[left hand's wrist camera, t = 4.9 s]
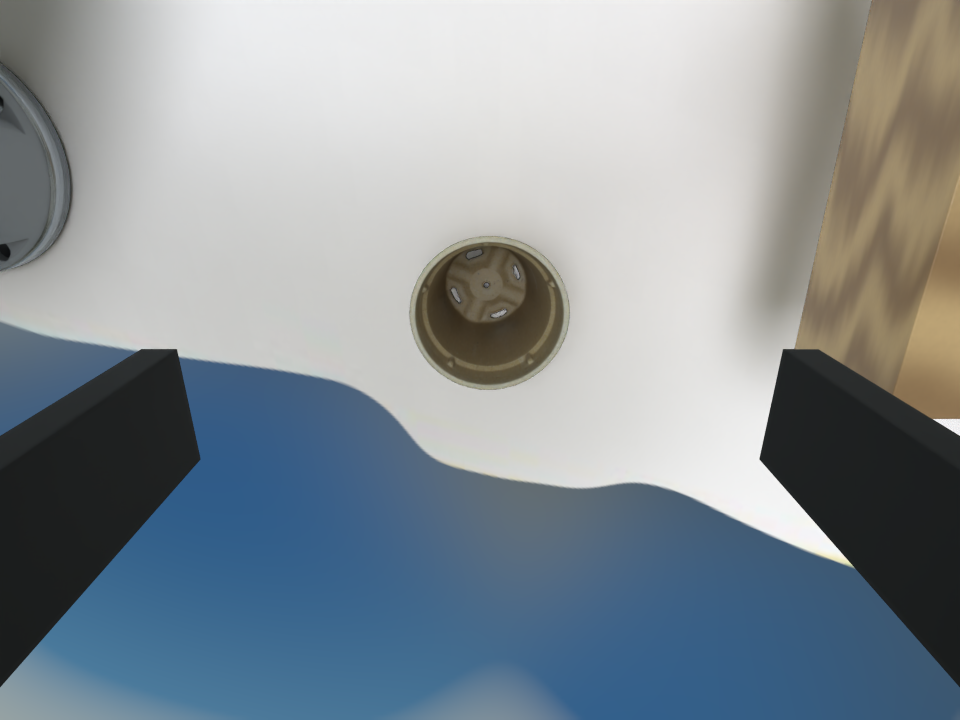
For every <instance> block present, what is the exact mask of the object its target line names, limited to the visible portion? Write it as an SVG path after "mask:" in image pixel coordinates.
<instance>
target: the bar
mask: <svg viewBox="0 0 960 720" xmlns="http://www.w3.org/2000/svg"><path fill="white" fill-rule="evenodd" d="M795 349H819V350H821V351H822V352H824V353H825V354H827V355H829V356H830V357H832V358H834V359H835V360H837V361H838V362H840V363H842V364H843V365H845V366H847V367H848V368H850V369H852V370H853V371H855V372H856V373H858V374H860V375H861V376H863V377H865V378H866V379H868V380H869V381H871V382H873V383H874V384H876V385H878V386H879V387H881V388H882V389H884V390H886V391H887V392H889V393H891V394H892V395H894V396H895V397H897V398H899V399H900V400H902V401H904V402H905V403H907V404H908V405H910V406H912V407H913V408H915V409H917V410H918V411H920V412H921V413H923V414H925V415H926V416H928V417H930V418H931V419H960V0H872V3H871V7H870V12H869V16H868V21H867V25H866V30H865V34H864V39H863V43H862V48H861V52H860V57H859V61H858V66H857V70H856V75H855V79H854V84H853V88H852V93H851V97H850V102H849V106H848V111H847V115H846V120H845V124H844V129H843V133H842V138H841V142H840V147H839V151H838V156H837V160H836V165H835V169H834V174H833V178H832V183H831V187H830V192H829V196H828V201H827V205H826V210H825V214H824V219H823V223H822V228H821V232H820V237H819V241H818V246H817V250H816V255H815V259H814V264H813V268H812V273H811V277H810V282H809V286H808V291H807V295H806V300H805V304H804V309H803V313H802V318H801V322H800V327H799V331H798V336H797V340H796V345H795Z"/></svg>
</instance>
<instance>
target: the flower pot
mask: <svg viewBox="0 0 960 720" xmlns="http://www.w3.org/2000/svg"><path fill="white" fill-rule="evenodd" d="M478 249H481V250H482V255H480V256H477V257H474V258H471V259H470V260H468V259H467V257H466V254H467V253H468V252H470V251H474V250H478ZM514 265H516V267H517V269H518V272H519V274H520V278H519V279H517V277H516V275H515V274H513V273H514V270H513V266H514ZM486 282H488V283H489V287H488V288H485V287H484V283H486ZM452 288H456V289H457V292H458V296H459V298H460V299H461V303H458V301H456V300H455V298H454V296H453V294H452V292H451V289H452ZM504 309H506V310H507V312H506V313H505V314H504V315H503V316H500V317H498V318H492V317H491V314H494V313H497V312H499V311H502V310H504ZM409 313H410V324H411V328H412V333H413V336H414V339H415V341H416V344H417V346H418V348H419V350H420V351H421V353H422V355H423V356H424V358H425V359H426V360H427V362H428V363H429V364H430V365H431V366H432V367H433V368H434V369H435V370H437V371H438V372H439V373H440V374H441V375H443V376H445V377H446V378H448V379H450V380H451V381H453V382H455V383H458V384H460V385H463V386H466V387H470V388H476V389H480V390H482V389H483V390H496V389H501V388H502V389H503V388H507V387H511V386H514V385H517V384H519V383H522V382H524V381H526V380H528V379H530V378H531V377H533V376H535V375H536V374H537V373H539V372H540V371H541V370H543V369H544V368H545V367H546V366H547V365H548V364H549V363H550V361H551V360H552V359H553V358H554V357H555V356H556V354H557V352H558V351H559V349H560V347H561V345H562V343H563V341H564V339H565V336H566V333H567V330H568V324H569V313H570V312H569V301H568V295H567V292H566V289H565V286H564V284H563V282H562V280H561V278H560V276H559V274H558V272H557V271H556V269H555V268H554V267H553V265H552V264H551V263H550V262H549V261H548V260H547V259H546V258H545V257H544V256H543V255H542V254H540V253H539V252H538V251H537V250H535V249H533V248H532V247H530V246H528V245H526V244H524V243H522V242H520V241H517V240H513V239H510V238H505V237H496V236H482V237H475V238H470V239H466V240H463V241H460V242H458V243H456V244H453V245H451V246H450V247H448V248H446V249H445V250H443V251H442V252H441V253H439V254H438V255H437V256H436V257H435V258H434V259H433V260H431V261H430V262H429V264H428V265H427V266H426V267H425V269H424V270H423V271H422V273H421V275H420V277H419V278H418V280H417V282H416V285H415V287H414V290H413V293H412V297H411V302H410V312H409Z"/></svg>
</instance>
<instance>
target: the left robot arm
mask: <svg viewBox="0 0 960 720" xmlns="http://www.w3.org/2000/svg"><path fill="white" fill-rule="evenodd" d="M69 203H70V176H69V169H68V164H67V160H66V156H65V153H64V150H63V147H62V144H61V141H60V139H59V137H58V134H57V132H56V130H55V128H54V126H53V124H52V122H51V120H50V119H49V117H48V115H47V114H46V112H45V111H44V109H43V107H42V106H41V105H40V103H39V102H38V101H37V99H36V98H35V97H34V95H33V94H32V93H31V92H30V91H29V89H28V88H27V87H26V86H25V85H24V84H23V83H22V82H21V81H20V80H19V79H18V78H17V77H16V76H15V75H14V74H13V73H12V72H11V71H10V70H8V69H7V68H6V67H5V66H4V65H2V64H1V63H0V271H4V270H7V269H11V268H14V267H18V266H21V265H23V264H26V263H28V262H30V261H32V260H34V259H35V258H37V257H39V256H40V255H41V254H42V253H44V252H45V251H46V250H47V249H48V248H49V247H50V246H51V245H52V244H53V242H54V241H55V240H56V238H57V237H58V235H59V233H60V232H61V230H62V228H63V225H64V223H65V220H66V217H67V214H68V210H69ZM199 460H200V455H199V450H198V445H197V441H196V436H195V431H194V427H193V422H192V417H191V413H190V408H189V403H188V399H187V394H186V390H185V385H184V380H183V376H182V371H181V366H180V362H179V357H178V352H177V349H141V350H139V351H138V352H136V353H135V354H133V355H131V356H130V357H128V358H126V359H125V360H123V361H122V362H120V363H118V364H117V365H115V366H113V367H112V368H110V369H108V370H107V371H105V372H104V373H102V374H100V375H99V376H97V377H95V378H94V379H92V380H91V381H89V382H87V383H86V384H84V385H83V386H81V387H79V388H78V389H76V390H74V391H73V392H71V393H69V394H68V395H66V396H65V397H63V398H61V399H60V400H58V401H56V402H55V403H53V404H52V405H50V406H48V407H47V408H45V409H43V410H42V411H40V412H39V413H37V414H35V415H34V416H32V417H30V418H29V419H27V420H25V421H24V422H22V423H21V424H19V425H17V426H16V427H14V428H12V429H11V430H9V431H8V432H6V433H4V434H3V435H1V436H0V687H1V686H2V685H3V683H4V682H5V681H6V680H7V679H8V678H9V677H10V675H11V674H12V673H13V672H14V671H15V670H16V669H17V668H18V666H19V665H20V664H21V663H22V662H23V661H24V660H25V658H26V657H27V656H28V655H29V654H30V653H31V652H32V650H33V649H34V648H35V647H36V646H37V645H38V644H39V642H40V641H41V640H42V639H43V638H44V637H45V636H46V635H47V633H48V632H49V631H50V630H51V629H52V628H53V627H54V625H55V624H56V623H57V622H58V621H59V620H60V619H61V617H62V616H63V615H64V614H65V613H66V612H67V611H68V609H69V608H70V607H71V606H72V605H73V604H74V603H75V601H76V600H77V599H78V598H79V597H80V596H81V595H82V594H83V592H84V591H85V590H86V589H87V588H88V587H89V586H90V584H91V583H92V582H93V581H94V580H95V579H96V578H97V576H98V575H99V574H100V573H101V572H102V571H103V570H104V569H105V567H106V566H107V565H108V564H109V563H110V562H111V561H112V559H113V558H114V557H115V556H116V555H117V554H118V553H119V551H120V550H121V549H122V548H123V547H124V546H125V545H126V543H127V542H128V541H129V540H130V539H131V538H132V537H133V536H134V534H135V533H136V532H137V531H138V530H139V529H140V528H141V526H142V525H143V524H144V523H145V522H146V521H147V520H148V518H149V517H150V516H151V515H152V514H153V513H154V512H155V510H156V509H157V508H158V507H159V506H160V505H161V504H162V503H163V501H164V500H165V499H166V498H167V497H168V496H169V494H170V493H171V492H172V491H173V490H174V489H175V488H176V487H177V485H178V484H179V483H180V482H181V481H182V480H183V479H184V477H185V476H186V475H187V474H188V473H189V472H190V471H191V469H192V468H193V467H194V466H195V465H196V464H197V463H198V462H199ZM760 460H761V462H762V463H763V464H764V465H765V466H766V467H767V468H768V470H769V471H770V472H771V473H772V474H773V475H774V476H775V477H776V479H777V480H778V481H779V482H780V483H781V484H782V485H783V487H784V488H785V489H786V490H787V491H788V492H789V493H790V495H791V496H792V497H793V498H794V499H795V500H796V501H797V503H798V504H799V505H800V506H801V507H802V508H803V509H804V510H805V512H806V513H807V514H808V515H809V516H810V517H811V518H812V520H813V521H814V522H815V523H816V524H817V525H818V526H819V528H820V529H821V530H822V531H823V532H824V533H825V534H826V536H827V537H828V538H829V539H830V540H831V541H832V542H833V543H834V545H835V546H836V547H837V548H838V549H839V550H840V551H841V553H842V554H843V555H844V556H845V557H846V558H847V559H848V561H849V562H850V563H851V564H852V565H853V566H854V567H855V569H856V570H857V571H858V572H859V573H860V574H861V575H862V576H863V578H864V579H865V580H866V581H867V582H868V583H869V584H870V586H871V587H872V588H873V589H874V590H875V591H876V592H877V594H878V595H879V596H880V597H881V598H882V599H883V600H884V602H885V603H886V604H887V605H888V606H889V607H890V608H891V609H892V611H893V612H894V613H895V614H896V615H897V616H898V617H899V619H900V620H901V621H902V622H903V623H904V624H905V625H906V627H907V628H908V629H909V630H910V631H911V632H912V633H913V635H914V636H915V637H916V638H917V639H918V640H919V641H920V642H921V644H922V645H923V646H924V647H925V648H926V649H927V650H928V652H929V653H930V654H931V655H932V656H933V657H934V658H935V660H936V661H937V662H938V663H939V664H940V665H941V666H942V667H943V669H944V670H945V671H946V672H947V673H948V674H949V675H950V677H951V678H952V679H953V680H954V681H955V682H956V683H957V685H958V686H959V687H960V436H959V435H957V434H956V433H954V432H952V431H951V430H949V429H948V428H946V427H944V426H943V425H941V424H939V423H938V422H936V421H935V420H933V419H931V418H930V417H928V416H926V415H925V414H923V413H921V412H920V411H918V410H917V409H915V408H913V407H912V406H910V405H908V404H907V403H905V402H904V401H902V400H900V399H899V398H897V397H895V396H894V395H892V394H891V393H889V392H887V391H886V390H884V389H882V388H881V387H879V386H878V385H876V384H874V383H873V382H871V381H869V380H868V379H866V378H865V377H863V376H861V375H860V374H858V373H856V372H855V371H853V370H852V369H850V368H848V367H847V366H845V365H843V364H842V363H840V362H838V361H837V360H835V359H834V358H832V357H830V356H829V355H827V354H825V353H824V352H822V351H821V350H819V349H783V352H782V357H781V362H780V366H779V371H778V376H777V380H776V385H775V390H774V394H773V399H772V403H771V408H770V413H769V417H768V422H767V427H766V431H765V436H764V441H763V445H762V450H761V455H760Z"/></svg>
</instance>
